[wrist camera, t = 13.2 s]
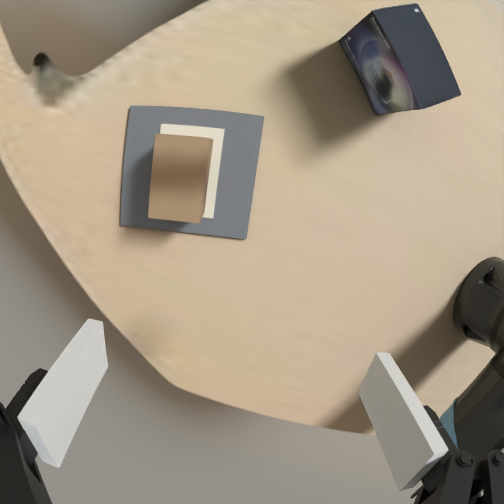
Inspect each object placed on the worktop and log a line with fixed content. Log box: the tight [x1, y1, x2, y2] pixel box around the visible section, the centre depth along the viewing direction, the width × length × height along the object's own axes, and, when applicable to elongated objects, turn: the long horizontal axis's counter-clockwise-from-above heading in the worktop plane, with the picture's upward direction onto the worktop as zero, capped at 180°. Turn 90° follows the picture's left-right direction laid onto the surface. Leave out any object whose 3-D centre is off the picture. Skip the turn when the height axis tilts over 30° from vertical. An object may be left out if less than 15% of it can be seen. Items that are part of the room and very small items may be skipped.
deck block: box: [148, 134, 214, 223], centre depth 29 cm, size 8×5×6 cm, turn 172°
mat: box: [120, 106, 264, 239], centre depth 32 cm, size 15×14×1 cm
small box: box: [339, 3, 461, 115], centre depth 24 cm, size 11×6×10 cm, turn 27°
